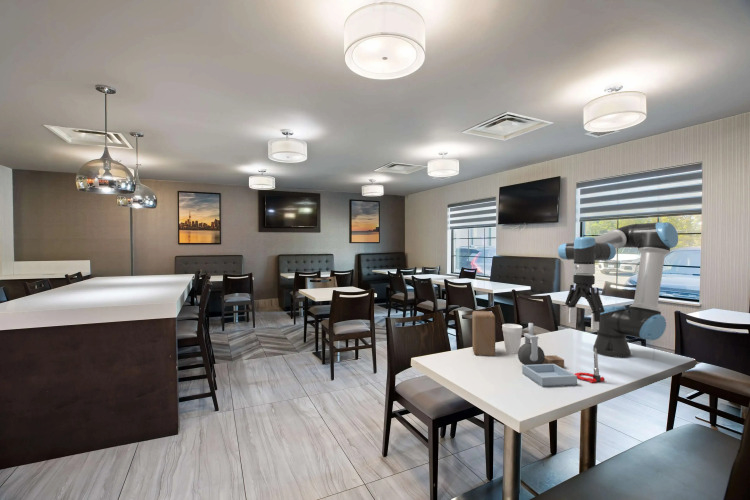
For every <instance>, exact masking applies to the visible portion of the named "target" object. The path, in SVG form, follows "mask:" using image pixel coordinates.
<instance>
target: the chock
mask: <svg viewBox="0 0 750 500" xmlns="http://www.w3.org/2000/svg"><path fill="white" fill-rule="evenodd" d="M543 364H555V365H557V366H559V367H561V368H563V369H565V359H564V358H562V357H560V356H558V355H551V354H550V355H545V358H544V362H543Z"/></svg>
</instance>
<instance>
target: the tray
mask: <svg viewBox="0 0 750 500" xmlns="http://www.w3.org/2000/svg"><path fill="white" fill-rule="evenodd" d="M521 368H522V369H521V370H522V372H521V374H522V375H524V376H525V377H527V378H528V379H529V380H531V381H532V382H534V383H536V384H537V385H539V387H541V388H546V387H547V388H548V387H550V388H551V387H567V386H569V387H570V386H571V387H572V386H578V378H577V376H576V375H574V374H575V373H572V372H570V371H568V370H567V369H566V368H561V367H559V366H557V365H555V364H537V365H524V364H522V365H521Z"/></svg>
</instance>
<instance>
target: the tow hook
mask: <svg viewBox="0 0 750 500" xmlns="http://www.w3.org/2000/svg"><path fill="white" fill-rule="evenodd" d="M593 352H594V353H593V364H594V367H593V373H589V372H575V373H573V374H574V375H576V376H577V380H581V381H587V382H589V383H590V384H592V383H594V384H595V383H600V382H604V381H605V380H606V379H605V377H604V376H601V375H600V369H599V361H598V356H599V355H598V353H597V349H596V348H594V351H593ZM584 376H586V377H584ZM587 376H588V377H587ZM591 377H592V378H591Z"/></svg>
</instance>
